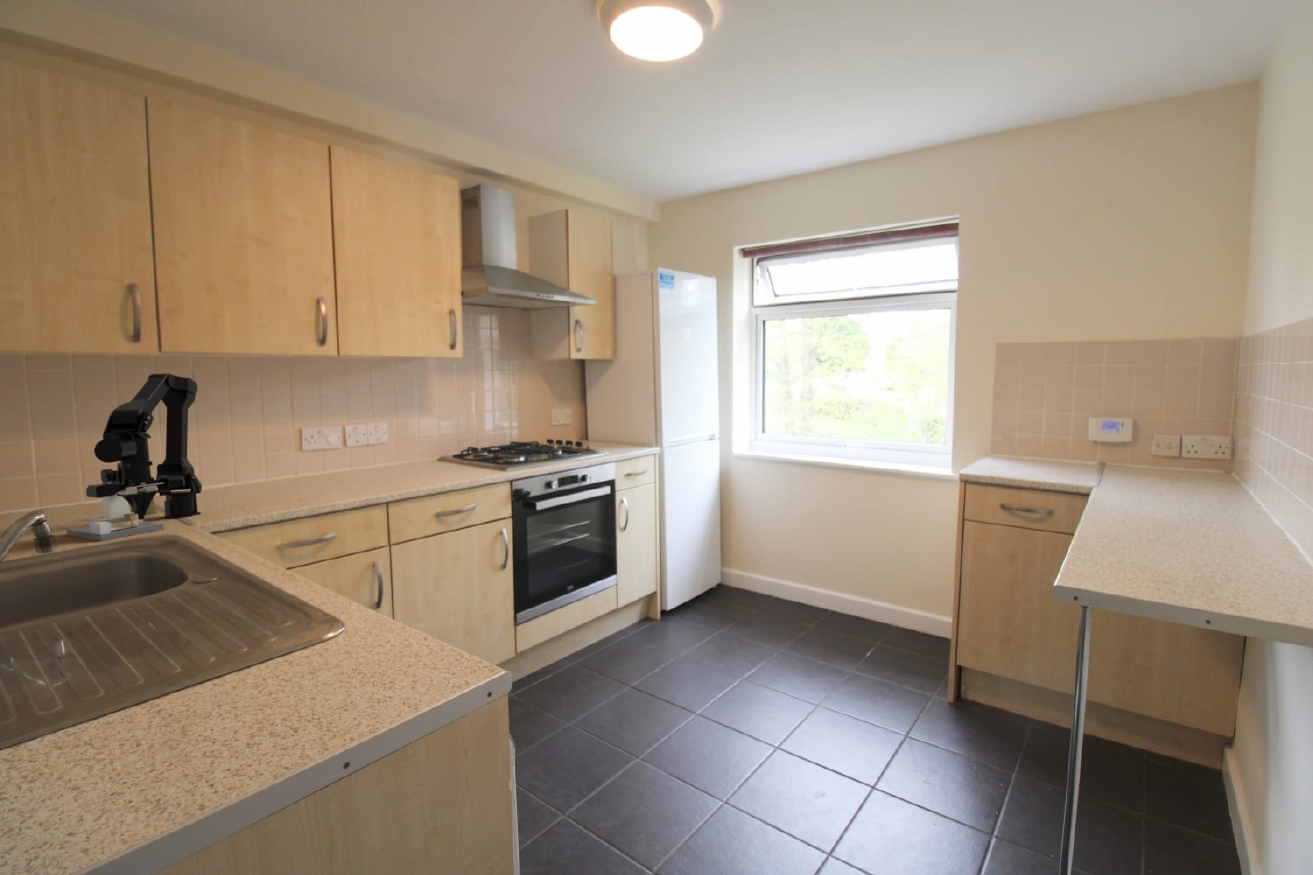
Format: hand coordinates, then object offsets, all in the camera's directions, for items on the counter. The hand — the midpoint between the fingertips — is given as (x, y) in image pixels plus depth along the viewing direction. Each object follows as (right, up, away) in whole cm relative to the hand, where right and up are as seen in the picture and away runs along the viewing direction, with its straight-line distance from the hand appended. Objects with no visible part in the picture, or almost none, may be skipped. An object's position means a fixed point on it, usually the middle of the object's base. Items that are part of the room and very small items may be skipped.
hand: (140, 519), depth 159 cm
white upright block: (-9, -2, +4) cm, 10 cm away
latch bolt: (-2, -2, -4) cm, 4 cm away
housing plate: (-6, -3, 0) cm, 7 cm away
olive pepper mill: (-19, -2, +24) cm, 30 cm away
